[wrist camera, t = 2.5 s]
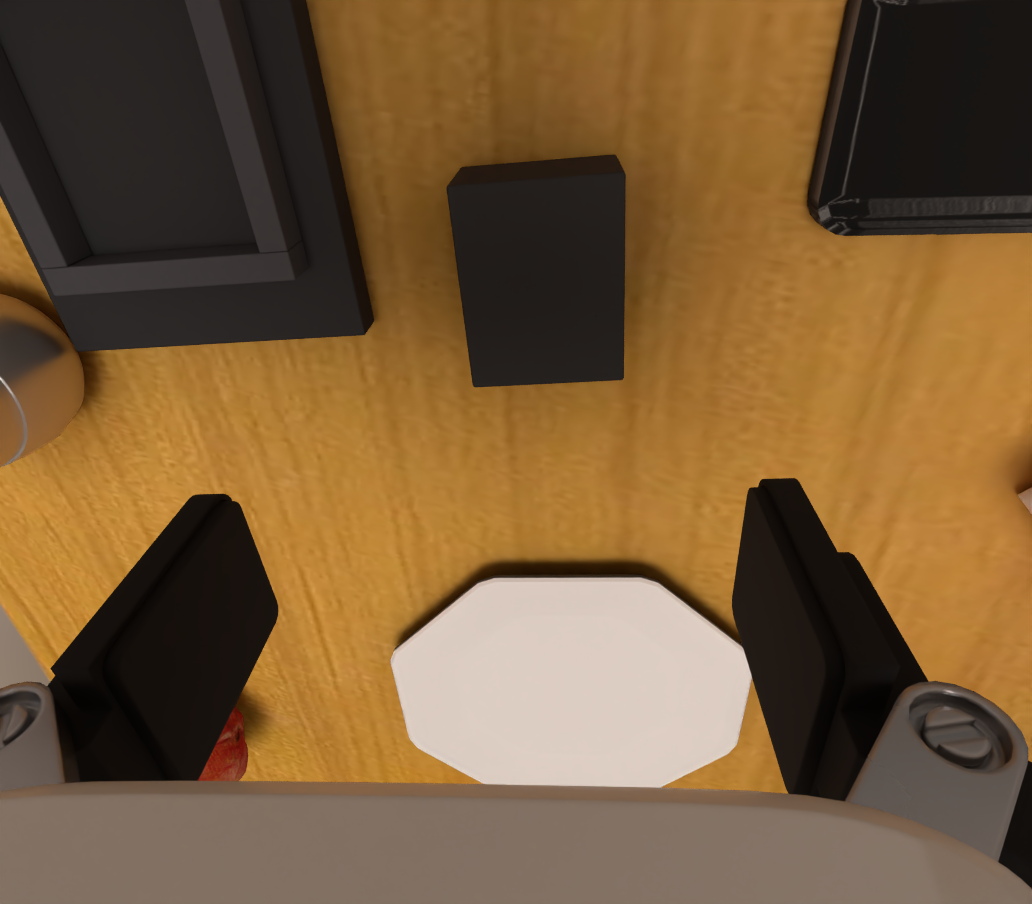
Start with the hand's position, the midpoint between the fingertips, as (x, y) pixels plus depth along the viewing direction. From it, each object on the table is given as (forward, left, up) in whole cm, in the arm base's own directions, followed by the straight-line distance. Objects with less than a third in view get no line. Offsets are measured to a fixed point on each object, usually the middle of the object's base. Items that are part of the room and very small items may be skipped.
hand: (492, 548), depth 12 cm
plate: (+24, +1, -16) cm, 29 cm away
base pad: (-7, -12, -15) cm, 21 cm away
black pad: (-1, +1, -15) cm, 15 cm away
